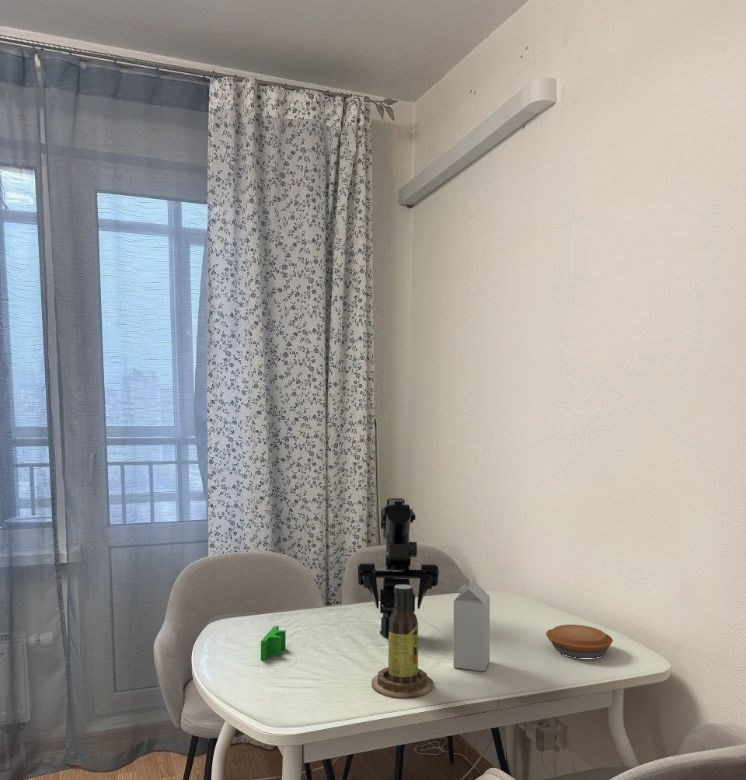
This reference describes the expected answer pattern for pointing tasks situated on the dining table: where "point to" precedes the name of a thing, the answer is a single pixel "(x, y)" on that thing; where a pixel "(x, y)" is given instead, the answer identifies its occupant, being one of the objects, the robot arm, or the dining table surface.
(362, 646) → the dining table surface
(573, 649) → the pie
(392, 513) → the robot arm
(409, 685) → the ring holder
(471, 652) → the milk carton
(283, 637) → the pipe clamp
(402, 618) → the sauce bottle
